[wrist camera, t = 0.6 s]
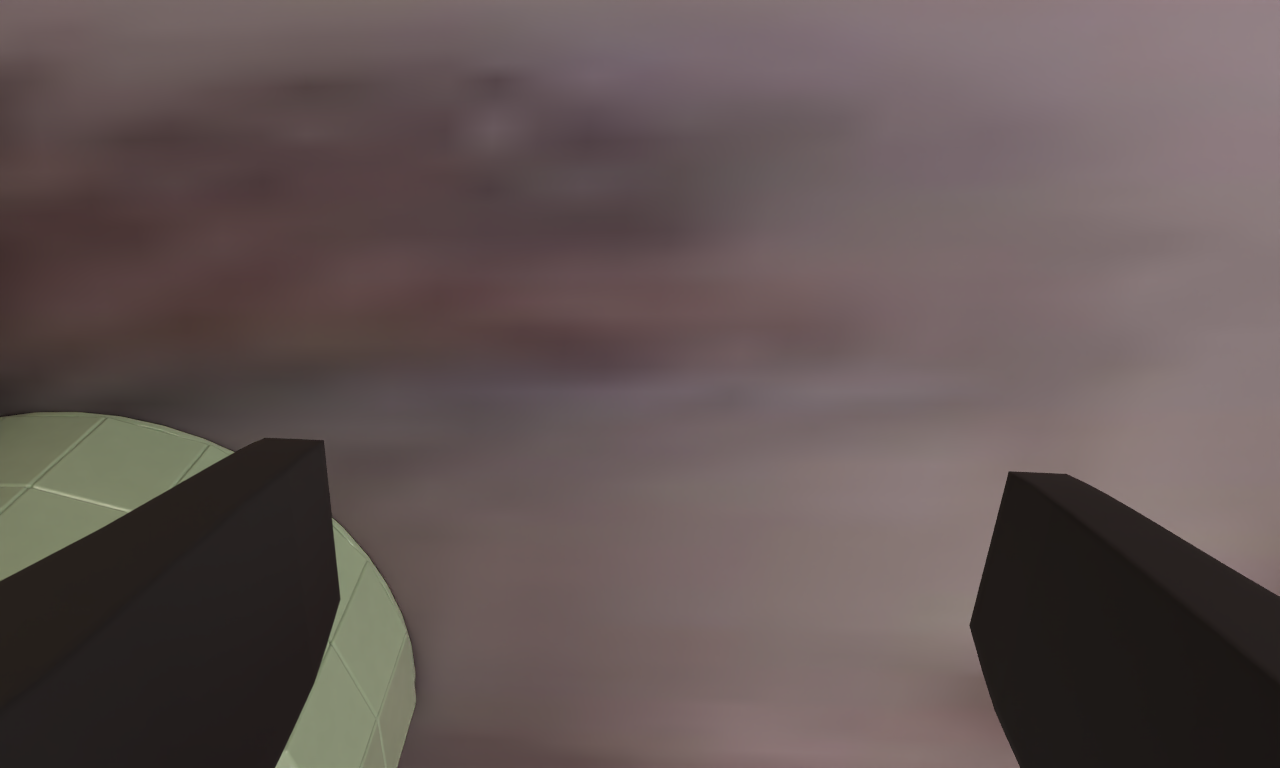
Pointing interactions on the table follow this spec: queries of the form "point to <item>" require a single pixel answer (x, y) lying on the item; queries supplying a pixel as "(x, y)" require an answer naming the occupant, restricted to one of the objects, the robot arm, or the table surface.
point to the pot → (152, 464)
